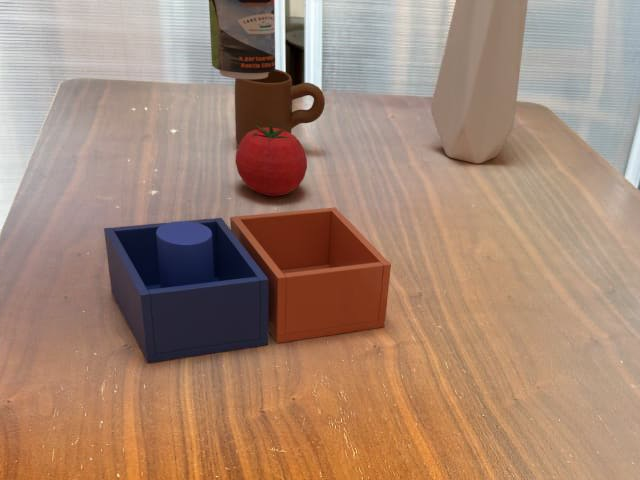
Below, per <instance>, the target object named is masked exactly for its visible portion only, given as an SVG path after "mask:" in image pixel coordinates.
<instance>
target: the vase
mask: <svg viewBox="0 0 640 480" xmlns="http://www.w3.org/2000/svg"><path fill="white" fill-rule="evenodd" d="M528 1H529V0H455V3H454V6H453V11H452V14H451V15H452V16H451V19H450V24H449V28H448V31H447V37H446V40H445V45H444V49H443V54H442V57H441V61H440V66H439V70H438V74H437V79H436V83H435V87H434V91H433V96H432V100H431V106H430V113H431V116H432V120H433V122H434V126H435V128H436V130H437V133H438V136H439V139H440V142H441V144H442V148H443V150H444V153H445V155H446V157H449V158H451V159H455V160H459V161H464V162H468V163H471V164H472V163H473V164H478V165H479V164H482V163H485V162H488V161H490V160H492V159H494V158H496V157H497V156H498V155H499V153H500V152H501V150H502V148H503V146H504V145H505V143H506V141H507V140H508V138H509V136H510V135H511V133H512V132H513V128H514V124H515V117H516V109H517V100H518V90H519V82H520V72H521V64H522V55H523V47H524V37H525V30H526V29H525V27H526V19H527V18H526V17H527V10H528V3H529V2H528Z"/></svg>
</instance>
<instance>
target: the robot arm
mask: <svg viewBox="0 0 640 480" xmlns="http://www.w3.org/2000/svg"><path fill="white" fill-rule="evenodd" d="M238 1H240V2H242V3H269V2H270V1H271V0H238Z"/></svg>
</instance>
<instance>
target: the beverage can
mask: <svg viewBox="0 0 640 480" xmlns="http://www.w3.org/2000/svg"><path fill="white" fill-rule="evenodd" d="M275 1H276V0H271V1H270V2H269V3H242V2H240V1H238V0H208V10H209V11H208V12H209V31H210V32H209V33H210V50H211V51H210V52H211V53H210V55H211V66H212V67H213V68H214V69H216V70H218V71H219V74H220V75H221V76H223V77H226V78H231V79H235V78H236V79H263V78H266V77H268V73H269V72H272V71H274V70H275V69H276V18H275V17H276V13H275V11H276V10H275V9H276V7H275Z"/></svg>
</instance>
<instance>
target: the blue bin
mask: <svg viewBox="0 0 640 480" xmlns="http://www.w3.org/2000/svg"><path fill="white" fill-rule="evenodd" d="M188 221H189V222H195V223H199V224H202V225H204V226H206V227H208V228H209V229H210V230H211V232H212V243H213V268H214V282H209V283H200V284H192V285H184V286H175V287H167V288H161V284H160V272H159V260H158V249H157V237H156V231H157V229H158V228H159V227H160V226H161V225H163V224H166V223H170V222H171V221H169V222H158V223H148V224H146V223H145V224H137V225H136V224H135V225H126V226H125V225H124V226H114V227H103V233H104V242H105V250H106V259H107V266H108V272H109V281H110V290H111V295H112V296H113V299H114V300H115V303H116V304H117V306H118V308H119V310H120V312H121V314H122V317H123V318H124V320H125V322H126V324H127V325H128V328H129V329H130V332H131V334H132V335H133V338H134V339H135V341H136V343H137V345H138V347H139V350H140V351H141V354H142V355H143V357H144V360H145V361H146V363H147V364H151V363H157V362H164V361H169V360H176V359H183V358H190V357H196V356H203V355H210V354H216V353H223V352H229V351H235V350H236V351H237V350H243V349H248V348H255V347H261V346H268V345H269V331H268V278H267V277H266V276H265V274H264V273H263V272H262V270H261V269H260V268H259V266H258V265H257V264H256V262H255V261H254V260H253V258H252V257H251V256H250V255H249V253H248V252H247V251H246V249H245V248H244V247H243V245H242V244H241V243H240V241H239V240H238V239H237V237H236V236H235V235H234V234H233V232H232V231H231V227H230V226H229V225H228V224H227V223H226V222H225V220H224V219H223V217H215V218H203V219H193V220H188Z"/></svg>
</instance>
